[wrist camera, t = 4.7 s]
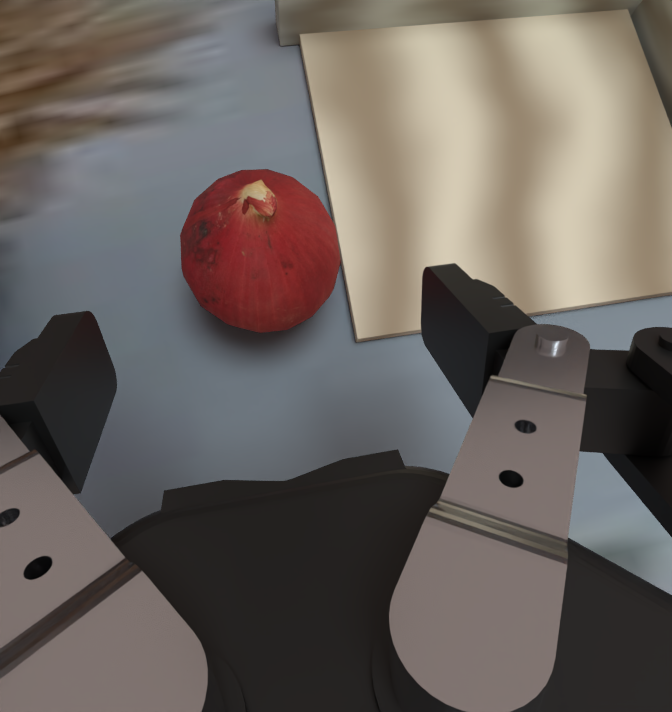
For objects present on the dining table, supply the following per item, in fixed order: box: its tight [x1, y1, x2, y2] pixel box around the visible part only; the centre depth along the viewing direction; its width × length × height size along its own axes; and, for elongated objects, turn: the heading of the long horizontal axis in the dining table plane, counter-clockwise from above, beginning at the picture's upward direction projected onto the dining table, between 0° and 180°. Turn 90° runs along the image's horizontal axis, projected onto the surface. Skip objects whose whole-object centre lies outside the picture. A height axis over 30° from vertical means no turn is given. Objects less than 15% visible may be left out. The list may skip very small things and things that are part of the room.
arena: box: [275, 0, 672, 342], centre depth 21 cm, size 21×18×6 cm
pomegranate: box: [180, 169, 341, 333], centre depth 18 cm, size 6×6×8 cm
